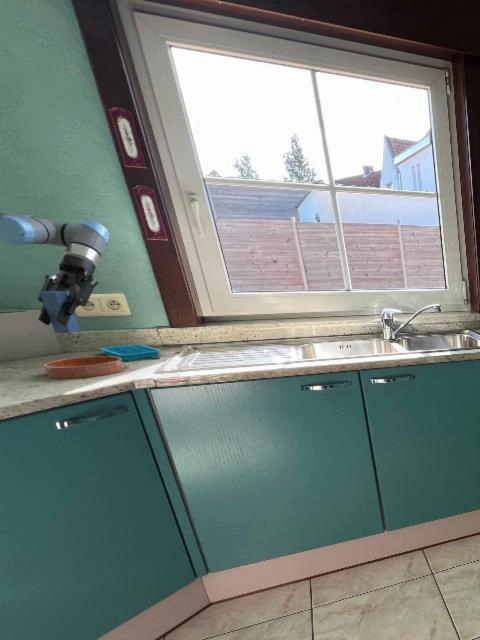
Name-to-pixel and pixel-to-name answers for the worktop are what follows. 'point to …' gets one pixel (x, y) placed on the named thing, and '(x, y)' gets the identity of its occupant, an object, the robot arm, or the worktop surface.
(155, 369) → the worktop surface
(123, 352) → the ice cube tray
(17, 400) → the worktop surface
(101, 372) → the bowl
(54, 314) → the block
